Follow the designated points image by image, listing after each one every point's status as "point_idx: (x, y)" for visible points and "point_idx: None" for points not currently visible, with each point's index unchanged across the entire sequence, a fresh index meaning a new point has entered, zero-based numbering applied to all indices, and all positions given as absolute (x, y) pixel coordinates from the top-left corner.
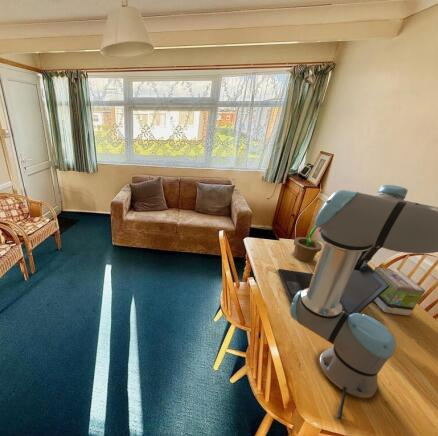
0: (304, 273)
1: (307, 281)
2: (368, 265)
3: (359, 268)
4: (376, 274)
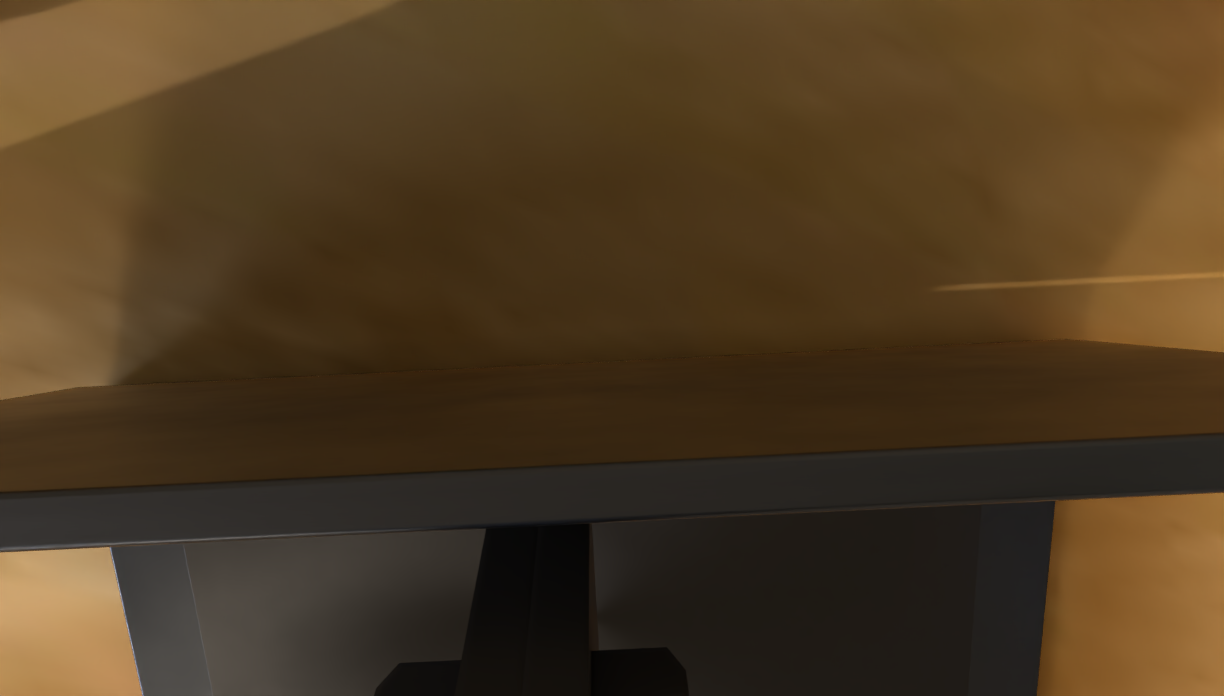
0: (162, 648)
1: (377, 658)
2: (682, 511)
3: (588, 532)
4: (1196, 488)
